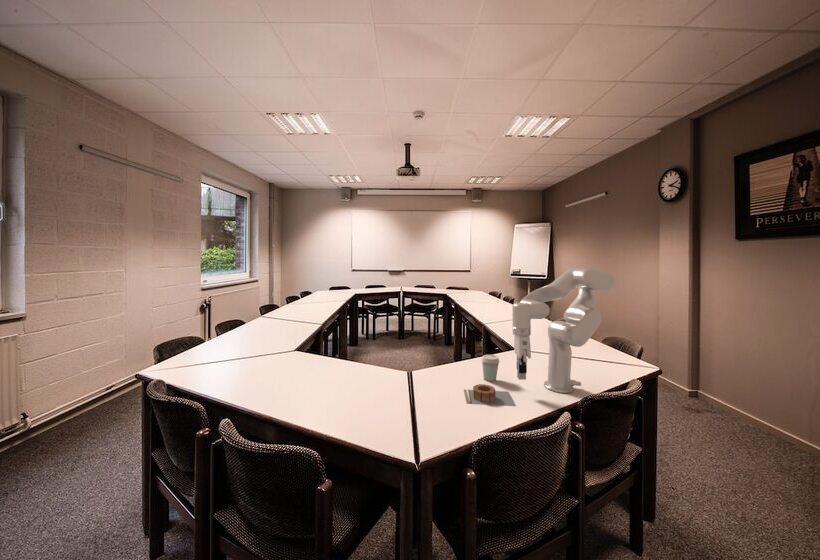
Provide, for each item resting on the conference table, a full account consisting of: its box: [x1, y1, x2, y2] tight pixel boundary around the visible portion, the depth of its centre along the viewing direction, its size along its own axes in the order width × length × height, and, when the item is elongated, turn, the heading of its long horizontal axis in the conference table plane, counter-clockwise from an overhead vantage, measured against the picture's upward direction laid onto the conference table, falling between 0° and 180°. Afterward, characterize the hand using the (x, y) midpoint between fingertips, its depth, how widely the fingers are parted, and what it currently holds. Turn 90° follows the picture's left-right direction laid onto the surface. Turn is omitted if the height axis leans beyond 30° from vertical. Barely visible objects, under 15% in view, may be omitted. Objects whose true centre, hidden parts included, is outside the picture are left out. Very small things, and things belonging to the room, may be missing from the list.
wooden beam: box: [516, 355, 527, 381], centre depth 142 cm, size 3×3×11 cm
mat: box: [463, 388, 517, 407], centre depth 138 cm, size 20×14×1 cm
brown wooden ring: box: [472, 383, 497, 403], centre depth 137 cm, size 9×9×4 cm
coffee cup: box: [481, 354, 500, 383], centre depth 158 cm, size 8×8×12 cm
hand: (521, 371), depth 142 cm, fingers closed on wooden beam, 3 cm apart
